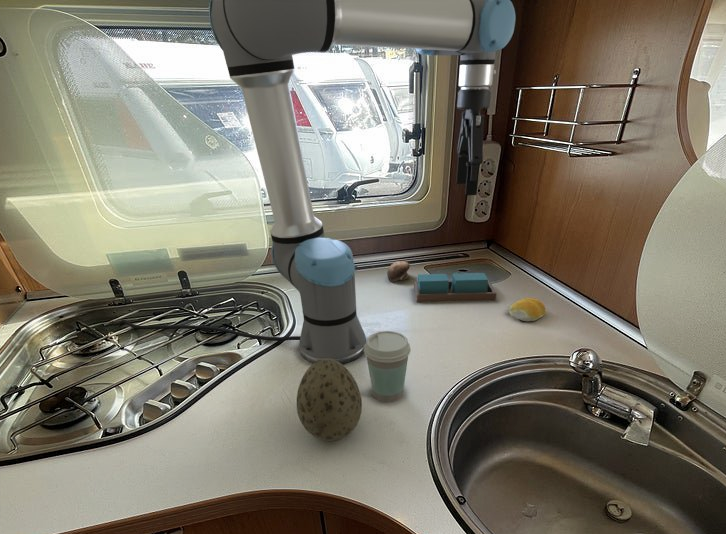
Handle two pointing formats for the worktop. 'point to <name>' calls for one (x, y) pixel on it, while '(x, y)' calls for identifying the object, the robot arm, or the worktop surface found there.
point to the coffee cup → (387, 364)
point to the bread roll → (527, 309)
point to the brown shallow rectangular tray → (455, 295)
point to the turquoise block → (433, 283)
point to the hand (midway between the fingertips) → (465, 189)
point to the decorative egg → (328, 400)
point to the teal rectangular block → (469, 283)
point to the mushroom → (398, 271)
